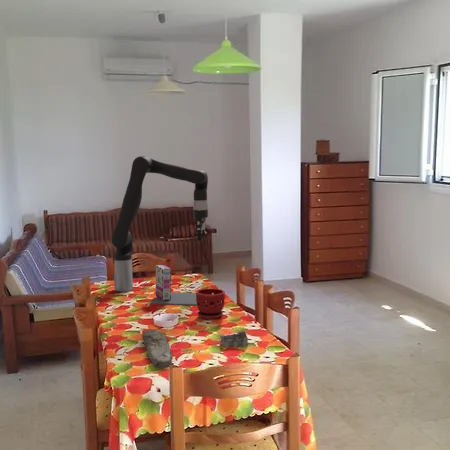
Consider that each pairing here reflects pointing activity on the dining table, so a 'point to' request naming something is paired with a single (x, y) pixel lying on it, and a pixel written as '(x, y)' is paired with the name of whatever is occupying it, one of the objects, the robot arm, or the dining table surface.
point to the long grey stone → (157, 348)
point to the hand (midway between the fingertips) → (201, 238)
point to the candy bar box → (163, 282)
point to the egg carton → (234, 339)
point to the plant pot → (210, 303)
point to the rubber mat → (178, 299)
